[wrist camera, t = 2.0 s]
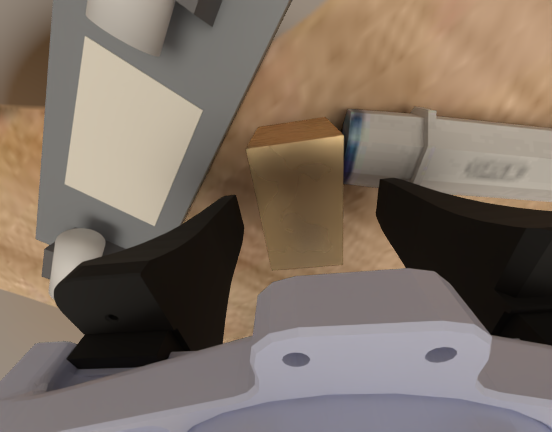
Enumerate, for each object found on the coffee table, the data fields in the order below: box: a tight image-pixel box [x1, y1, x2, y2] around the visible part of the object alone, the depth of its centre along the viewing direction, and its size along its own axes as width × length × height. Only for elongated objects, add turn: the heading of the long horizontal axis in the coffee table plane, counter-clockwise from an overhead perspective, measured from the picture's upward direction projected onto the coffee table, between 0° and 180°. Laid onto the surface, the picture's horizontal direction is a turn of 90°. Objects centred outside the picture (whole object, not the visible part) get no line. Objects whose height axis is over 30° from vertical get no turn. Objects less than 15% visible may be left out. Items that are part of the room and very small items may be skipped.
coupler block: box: [246, 117, 344, 271], centre depth 13 cm, size 7×4×5 cm, turn 8°
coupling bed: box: [36, 0, 292, 299], centre depth 12 cm, size 22×9×5 cm, turn 148°
